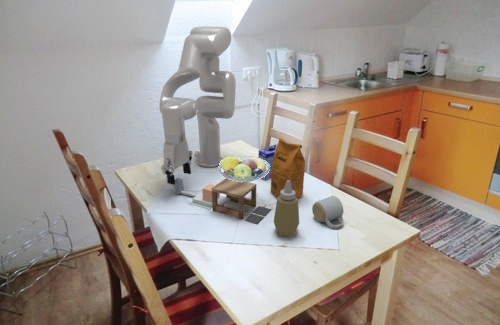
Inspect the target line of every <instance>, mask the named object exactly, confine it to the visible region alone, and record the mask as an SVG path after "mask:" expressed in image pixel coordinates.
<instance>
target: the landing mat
mask: <svg viewBox="0 0 500 325" xmlns="http://www.w3.org/2000/svg"><path fill="white" fill-rule="evenodd" d="M188 203H189V205H192V206H196V207H199V208H202V209H206V210H211V209H213V207H210V206H207V205H203V204H200V203H196V202H193V200H192V201H190V202H188Z"/></svg>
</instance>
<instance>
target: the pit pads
mask: <svg viewBox="0 0 500 325" xmlns="http://www.w3.org/2000/svg"><path fill="white" fill-rule="evenodd" d="M271 211H272V209H271V208H268V207H265V206H260V205H258V206H256V207H255V209H254V210H253V211H252V212H251V213H250V214H249V215H247V217H246V218H245V219H243V220H244V222H248V223H251V224H255V225H258V224H259V223H261V221H262V220H264V218H265V217H266V216H267V215H268V214H269V213H270V212H271Z"/></svg>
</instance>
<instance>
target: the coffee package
mask: <svg viewBox="0 0 500 325" xmlns="http://www.w3.org/2000/svg"><path fill="white" fill-rule="evenodd" d="M276 147H277V148H276V151H275V154H274V158H273V162H272V170H271V178H270V193H271V194H273V195H275V196H276V198H278V197H279V196H280V191H281V190H283V189H284V188H285V185H286V181H287V180H290V182H291V187H292V190H294V191H295V193H296V194H295V197H296V198H301V197H302V196H303V195H304V181H305V169H306V168H305V167H306V160H305V158H304V154H303V152H302V148H303V145H301V144H298V143H290V142H287V141H286V140H285V139H284V138H282V137H280V138H279V139H278V142H277V145H276Z"/></svg>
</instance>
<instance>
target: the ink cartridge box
mask: <svg viewBox="0 0 500 325" xmlns="http://www.w3.org/2000/svg"><path fill="white" fill-rule="evenodd" d="M277 144H278V143H277ZM277 144H272V145H270V146H269V147H268V148H262V149H259V150H258V158H261V159H263V160H266V161H267V162H268V163H269V164H270V166H271V167H270V171H269V173H268V174H267V175H266V176H265V177H263V178H261V179H262V180H264V181H267V180H271V170H272V162H273V158H274V154H275V151H276V148H277Z"/></svg>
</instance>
